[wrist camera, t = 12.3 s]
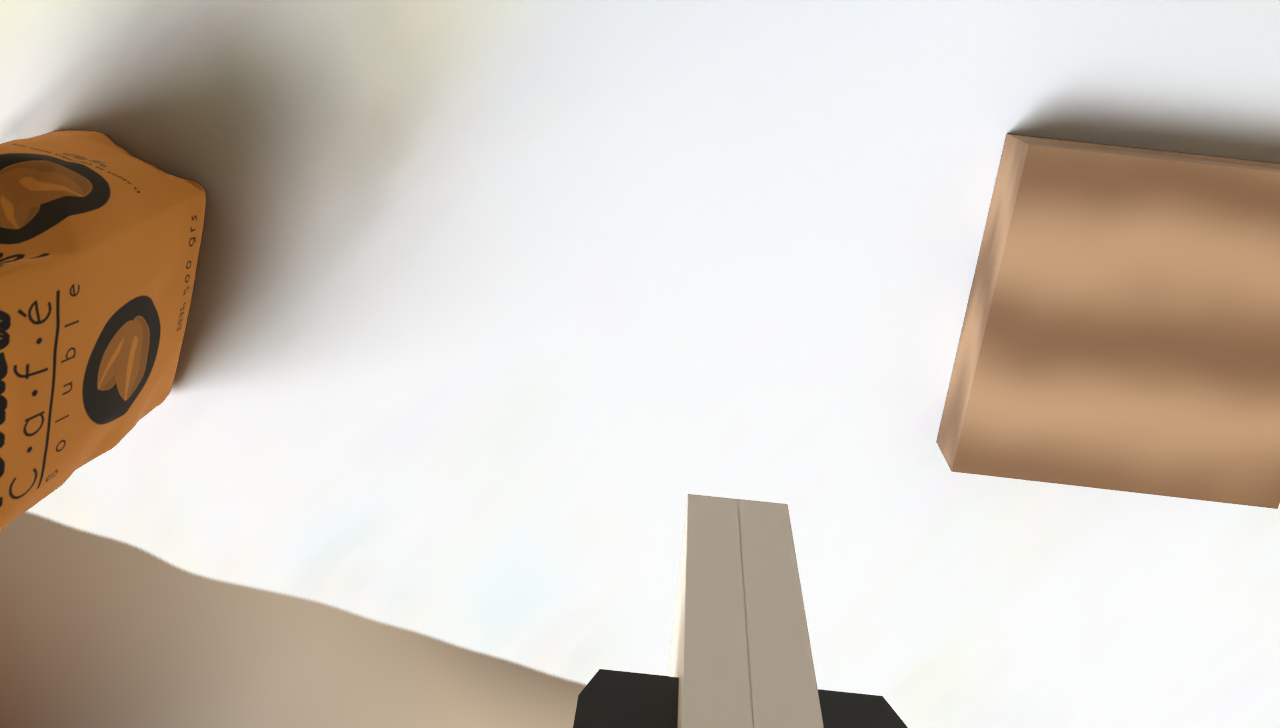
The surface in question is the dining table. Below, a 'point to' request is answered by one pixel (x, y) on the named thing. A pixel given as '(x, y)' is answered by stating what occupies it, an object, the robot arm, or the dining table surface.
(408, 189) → the dining table surface
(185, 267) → the coffee package
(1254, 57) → the dining table surface
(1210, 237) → the board
